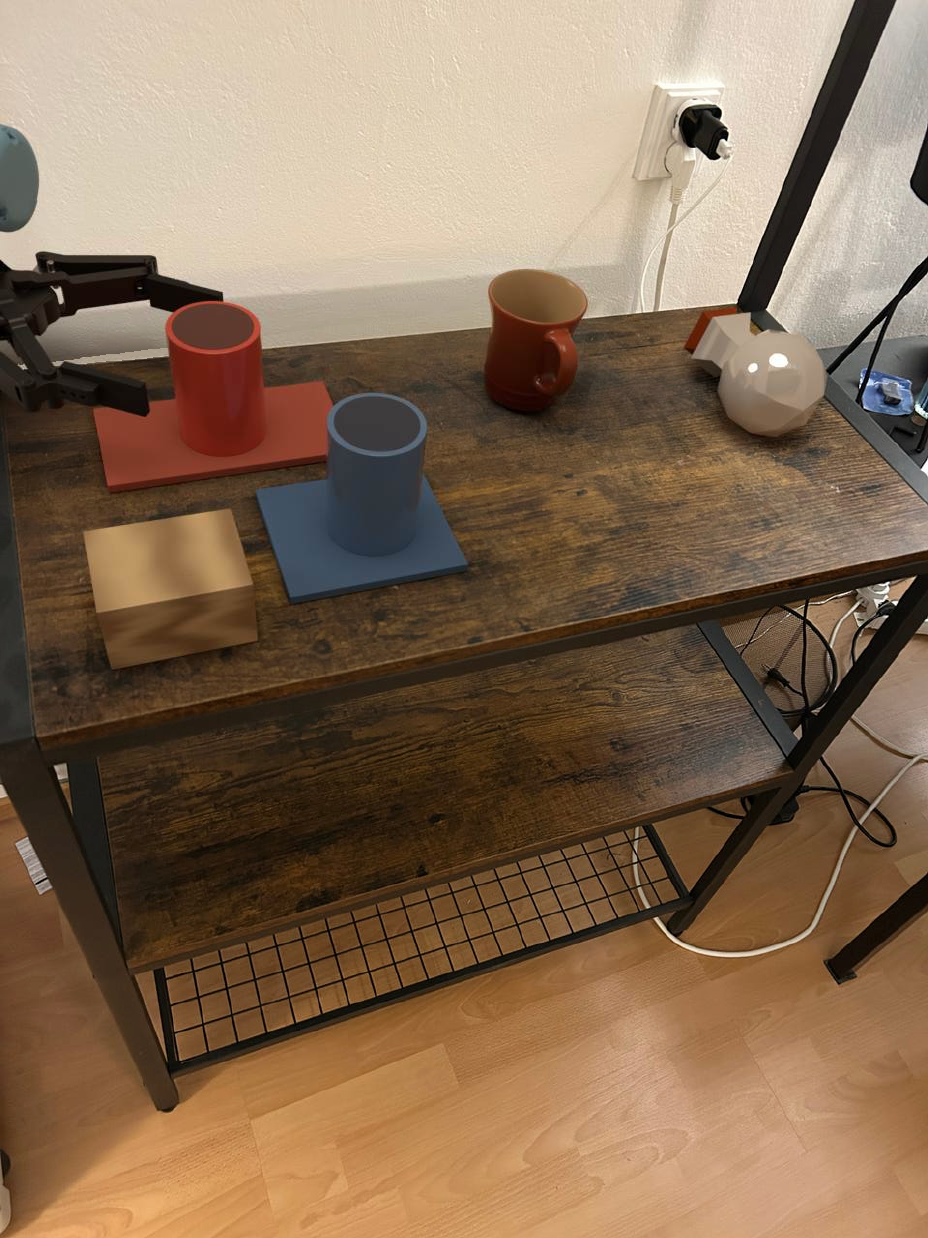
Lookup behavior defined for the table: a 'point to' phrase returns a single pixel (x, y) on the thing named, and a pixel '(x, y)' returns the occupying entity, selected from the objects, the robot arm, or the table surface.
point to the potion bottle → (758, 372)
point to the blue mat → (330, 569)
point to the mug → (532, 338)
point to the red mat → (161, 457)
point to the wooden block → (171, 587)
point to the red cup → (217, 377)
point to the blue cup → (374, 473)
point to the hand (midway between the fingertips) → (186, 351)
